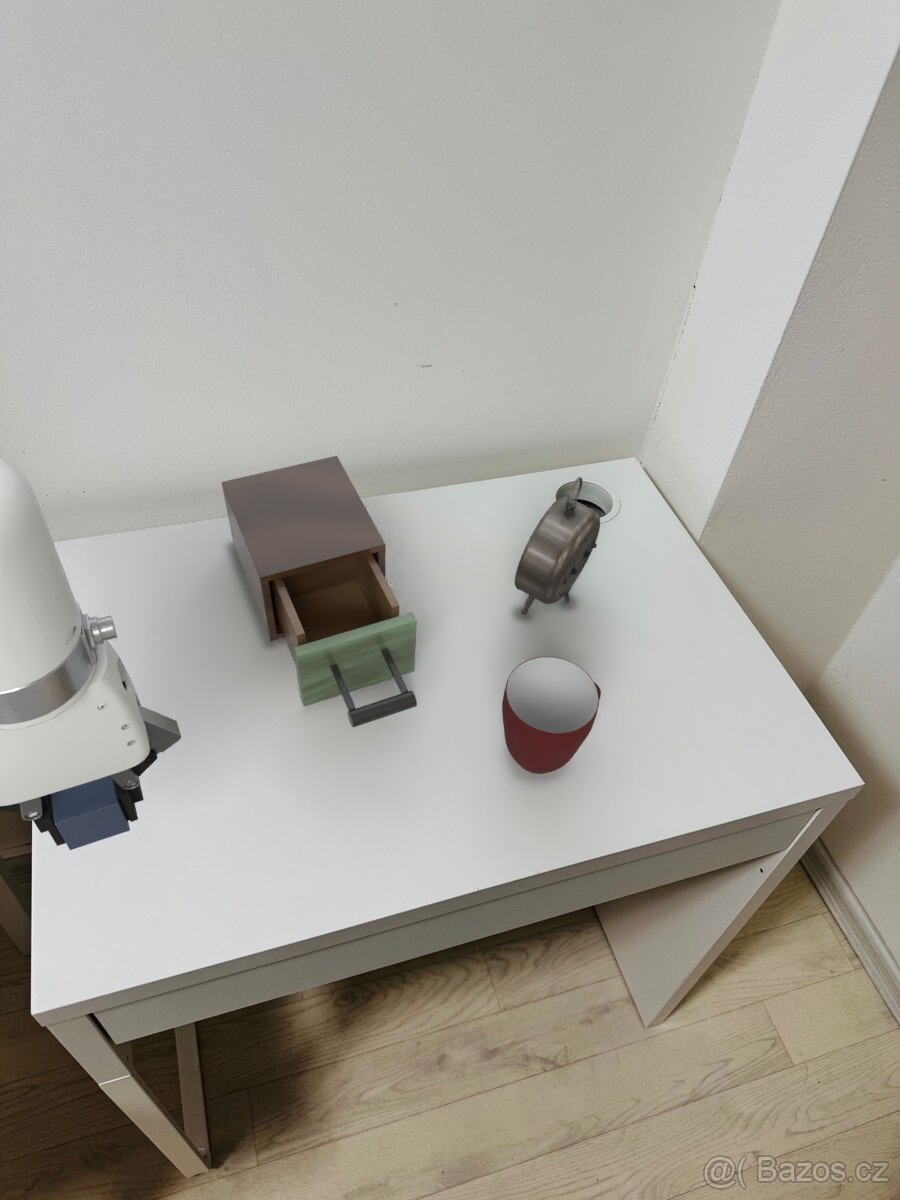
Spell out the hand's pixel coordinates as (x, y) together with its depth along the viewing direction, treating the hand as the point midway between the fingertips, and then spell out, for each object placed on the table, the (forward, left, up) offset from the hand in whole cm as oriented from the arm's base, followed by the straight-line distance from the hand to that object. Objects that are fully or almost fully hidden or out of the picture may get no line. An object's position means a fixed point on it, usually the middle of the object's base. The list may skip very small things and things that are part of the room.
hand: (94, 813), depth 59 cm
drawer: (+23, +14, -11) cm, 30 cm away
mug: (+37, -1, -12) cm, 40 cm away
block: (0, 0, 0) cm, 0 cm away
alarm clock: (+47, +16, -12) cm, 52 cm away
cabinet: (+23, +28, -12) cm, 38 cm away
